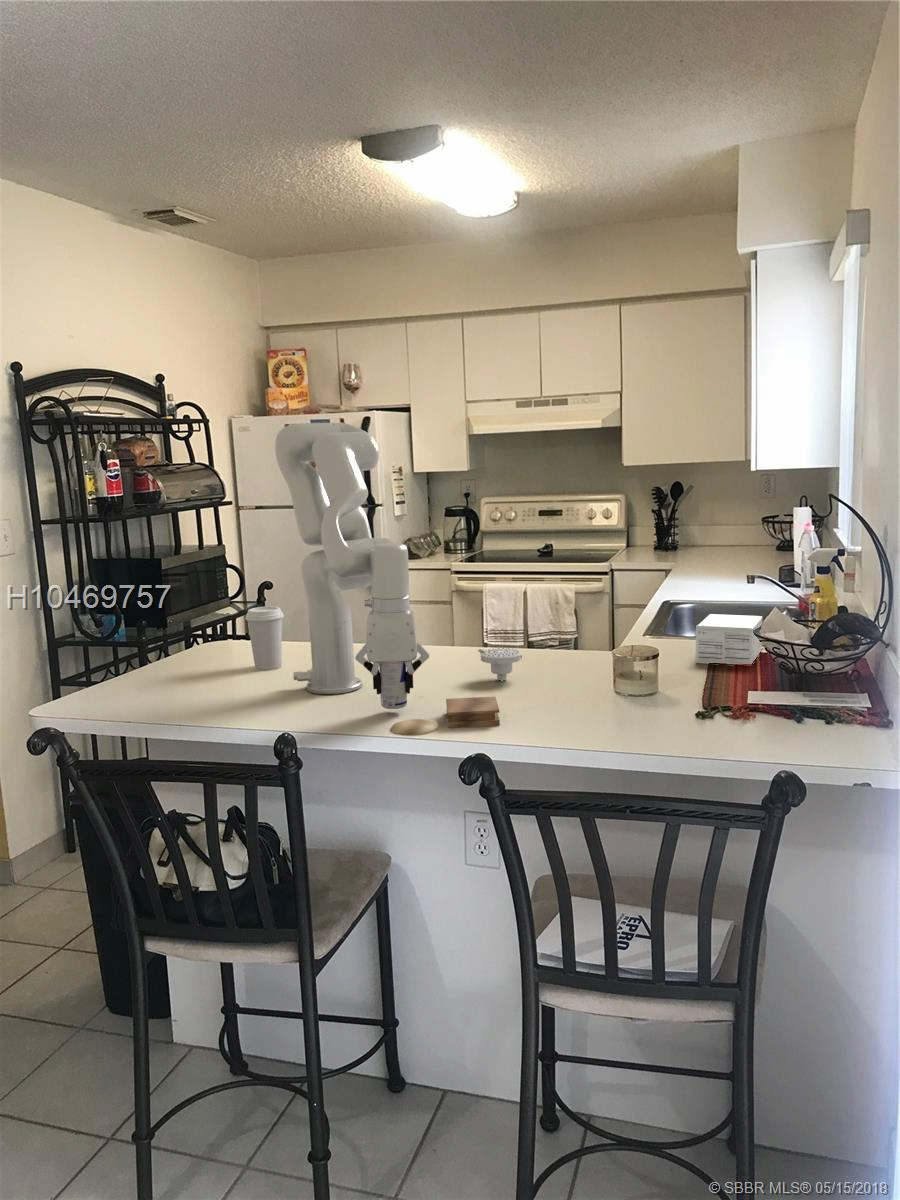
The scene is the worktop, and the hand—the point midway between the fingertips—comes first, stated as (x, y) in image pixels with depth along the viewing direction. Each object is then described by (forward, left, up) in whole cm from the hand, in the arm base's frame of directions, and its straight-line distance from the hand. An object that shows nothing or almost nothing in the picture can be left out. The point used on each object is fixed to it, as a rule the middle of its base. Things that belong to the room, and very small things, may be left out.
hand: (393, 691), depth 192 cm
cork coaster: (+4, -11, -5) cm, 13 cm away
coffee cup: (-33, +47, -5) cm, 58 cm away
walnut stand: (+16, -7, -5) cm, 18 cm away
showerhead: (+24, +23, -5) cm, 33 cm away
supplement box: (+80, +35, -5) cm, 88 cm away
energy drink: (0, 0, -3) cm, 3 cm away
